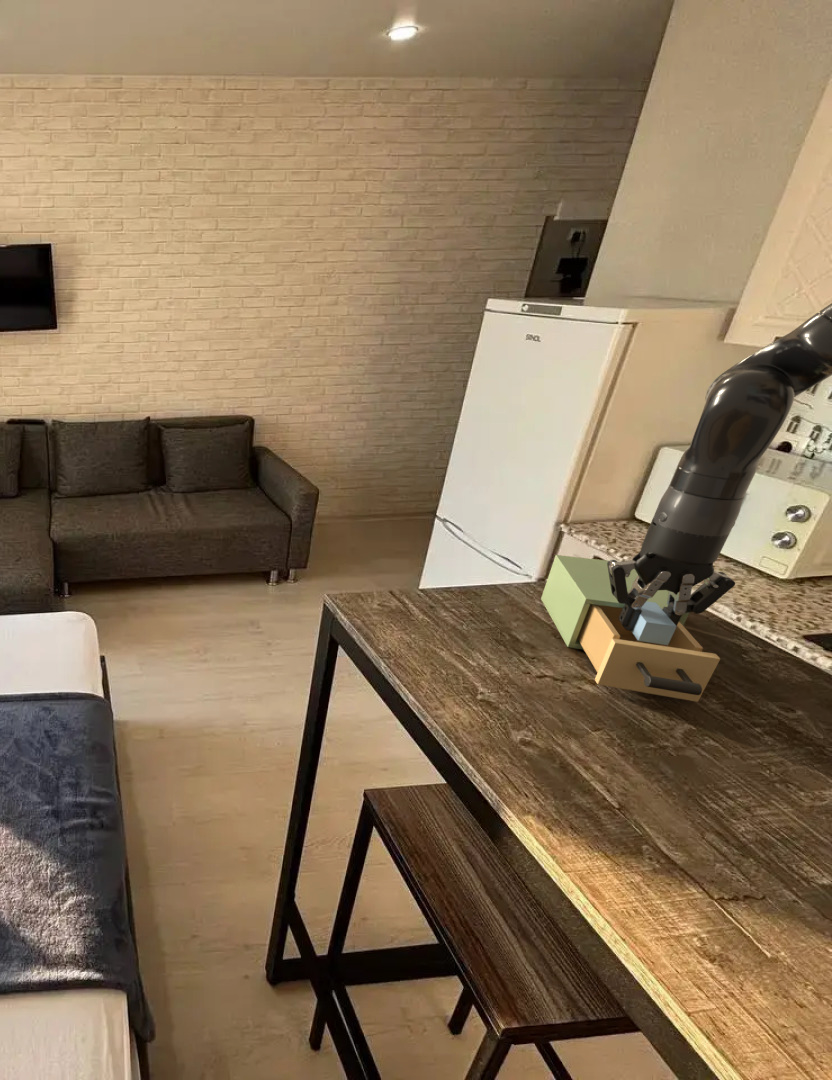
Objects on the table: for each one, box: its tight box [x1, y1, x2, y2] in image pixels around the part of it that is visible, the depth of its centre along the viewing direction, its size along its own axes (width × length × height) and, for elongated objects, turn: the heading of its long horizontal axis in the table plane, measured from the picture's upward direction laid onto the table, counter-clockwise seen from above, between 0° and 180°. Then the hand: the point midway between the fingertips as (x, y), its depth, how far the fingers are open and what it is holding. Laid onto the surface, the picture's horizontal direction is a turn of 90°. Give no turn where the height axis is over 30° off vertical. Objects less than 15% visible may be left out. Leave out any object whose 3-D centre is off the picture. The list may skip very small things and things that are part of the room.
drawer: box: [577, 604, 721, 703], centre depth 83 cm, size 19×11×7 cm, turn 159°
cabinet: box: [540, 554, 690, 651], centre depth 95 cm, size 16×13×9 cm
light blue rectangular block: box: [631, 601, 677, 645], centre depth 83 cm, size 3×6×3 cm, turn 159°
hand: (643, 629), depth 84 cm, fingers closed on light blue rectangular block, 3 cm apart
